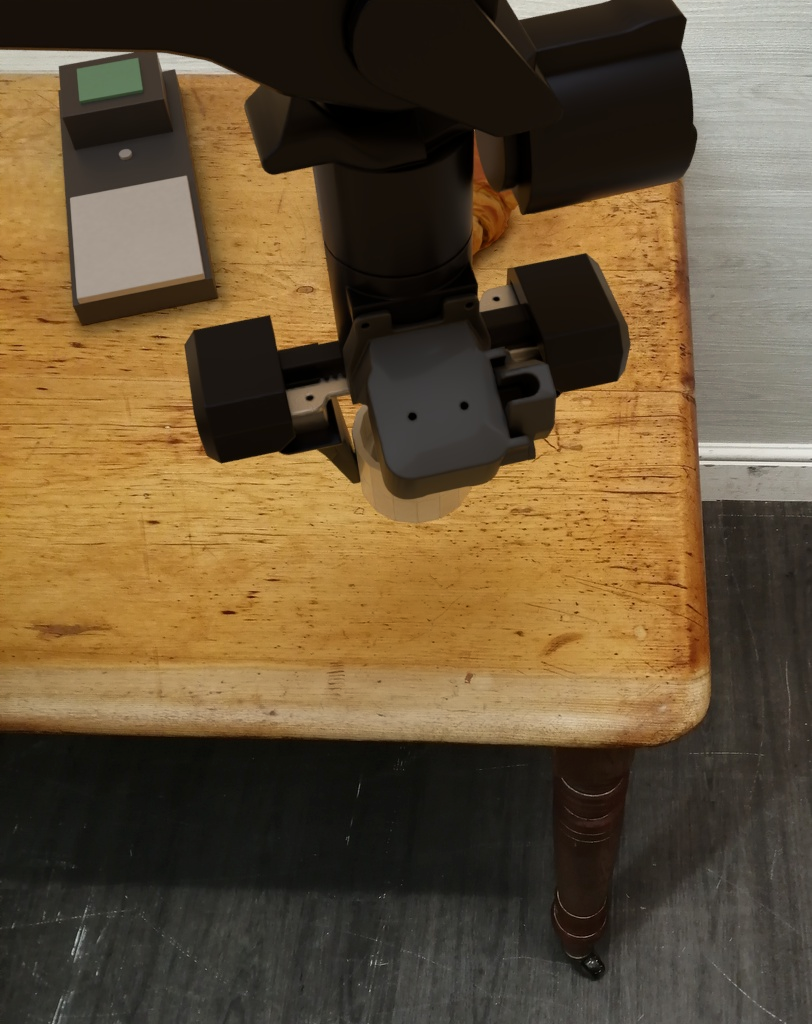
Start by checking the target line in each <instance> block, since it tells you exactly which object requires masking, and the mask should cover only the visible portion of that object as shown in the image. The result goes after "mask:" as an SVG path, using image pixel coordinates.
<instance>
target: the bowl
mask: <svg viewBox="0 0 812 1024" xmlns="http://www.w3.org/2000/svg"><path fill="white" fill-rule="evenodd" d="M352 423H353V424H352V428H351V440H352V443H353V447H354V452H355V456H356V460H357V464H358V469H359V476H360V483H359V486H360V490H361V494H362V496H363V498H364V499H365V500H366V502H368V503H369V505H370V506H371V507H372V509H373V510H374V511H376V513H378V514H380V515H382V516H384V517H386V518H388V519H390V520H391V521H393V522H397V523H406V524H414V525H418V524H425V523H429V522H433V521H439V520H442V519H444V518H445V517H446V516H448V515H450V514H452V513H453V512H454V511H456V510H457V509H459V508H460V507H461V506H462V505H463V503H464V501H466V499H467V497H468V496H469V495H470V493H471V491H472V487H471V486H468V487H462V488H458V489H453V490H448V491H444V492H439V493H434V494H430V495H426V496H424V497H421V498H416V499H410V500H404V499H400V498H397V497H395V496H394V495H392V494H391V493H390V492H389V491H388V490H387V488H386V486H385V484H384V482H383V478H382V473H381V468H380V463H379V459H378V455H377V450H376V446H375V442H374V437H373V433H372V429H371V424H370V420H369V415H368V407H367V406H366V405H362V404H361V406H360V407H359V409H358V410H357V411H356V413H355V416H354V420H353V422H352Z"/></svg>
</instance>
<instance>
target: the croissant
mask: <svg viewBox="0 0 812 1024" xmlns="http://www.w3.org/2000/svg"><path fill="white" fill-rule="evenodd" d="M517 207H519V206H518V203H517V201H516V199H515V197H514V195H513V193H512V191H511V190H509V191H504V192H500V193H497V192H495V191H494V190H493V189H492V188H491V187H490V185H489V183H488V181H487V179H486V177H485V174H484V172H483V168H482V165H481V162H480V158H479V154H478V149H477V144H476V138H475V130H474V177H473V256H475V254H476V253H478V252H480V251H481V250H484V249H486V248H489V247H490V246H491V245H492V244H493V243H494V242H496V241H497V240H498V239H499V238H500V237H501V235H502V234H503V233H505V229H506V228H508V227H509V225H508V221H509V219H510V215H511V213H512V211H515V209H517Z"/></svg>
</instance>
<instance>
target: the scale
mask: <svg viewBox="0 0 812 1024" xmlns="http://www.w3.org/2000/svg"><path fill="white" fill-rule="evenodd" d="M58 77H59V78H58V79H59V90H58V91H57V93H58V106H59V107H58V109H59V121H60V136H61V151H62V166H63V167H62V168H63V181H64V195H65V196H64V197H65V211H66V224H67V225H66V226H67V240H68V255H69V270H70V284H71V285H70V286H71V300H72V308H73V309H74V312H75V314H76V316H77V318H78V320H79V322H80V324H81V326H85V325H90V324H95V323H99V322H105V321H110V320H116V319H119V318H125V317H129V316H135V315H140V314H145V313H150V312H154V311H160V310H164V309H169V308H174V307H175V308H176V307H179V306H185V305H190V304H194V303H199V302H203V301H204V302H205V301H209V300H214V299H218V298H219V295H218V289H217V284H216V279H215V274H214V267H213V261H212V257H211V251H210V244H209V240H208V234H207V229H206V223H205V218H204V212H203V207H202V202H201V196H200V190H199V184H198V178H197V173H196V167H195V162H194V156H193V152H192V145H191V140H190V134H189V128H188V123H187V118H186V111H185V107H184V102H183V96H182V95H183V94H182V90H181V86H180V82H179V78H178V75H177V71H176V69H175V68H174V69H169V70H163V69H162V65H161V62H160V58H159V53H141V52H127V53H123V54H117V55H113V56H107V57H106V56H105V57H100V58H96V59H90V60H85V61H79V62H73V63H67V64H63V65H58Z"/></svg>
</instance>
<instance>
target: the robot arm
mask: <svg viewBox="0 0 812 1024" xmlns="http://www.w3.org/2000/svg"><path fill="white" fill-rule="evenodd" d="M687 22H688V18H687V17H686V16H685V14H684V13H683V12H682V10H681V9H680V7H678V5H677V4H676V3H675V1H674V0H606V1H603V2H599V3H595V4H589V5H585V6H579V7H575V8H571V9H566V10H560V11H556V12H551V13H546V14H541V15H536V16H532V17H531V16H530V17H527V18H521V19H519V18H518V16H517V15H516V13H515V11H514V10H513V8H512V6H511V4H510V3H509V2H508V0H0V51H34V52H35V51H37V52H38V51H41V52H42V51H43V52H44V51H45V52H89V53H90V52H93V53H94V52H96V53H97V52H98V53H134V52H141V53H157V54H169V55H174V56H179V57H185V58H190V59H196V60H201V61H206V62H209V63H212V64H214V65H217V66H218V67H221V68H222V69H225V70H227V71H229V72H231V73H234V74H235V75H238V76H240V77H242V78H244V79H246V80H249V81H251V82H253V83H256V84H257V85H259V86H258V87H257V88H256V89H255V90H254V91H253V92H252V93H251V94H250V95H249V96H247V98H246V99H245V101H244V104H243V108H244V112H245V116H246V120H247V122H248V127H249V129H250V132H251V135H252V138H253V142H254V145H255V148H256V152H257V155H258V158H259V162H260V165H261V168H262V170H263V171H264V172H265V173H267V174H268V175H271V176H275V175H276V176H277V175H281V174H287V173H291V172H295V171H296V172H297V171H299V170H300V171H301V170H304V169H309V168H312V174H313V181H314V188H315V194H316V200H317V207H318V214H319V220H320V221H319V222H320V228H321V234H322V235H321V236H322V242H323V248H324V254H325V261H326V266H327V268H326V269H327V276H328V281H329V289H330V296H331V301H332V308H333V314H334V320H335V328H336V334H337V336H336V337H337V340H333V341H329V342H323V343H319V342H314V343H307V344H304V345H298V346H293V347H289V348H288V347H287V348H283V349H278V345H277V339H276V335H275V334H276V333H275V330H274V325H273V321H272V317H271V314H268V315H262V316H258V317H252V318H247V319H243V320H238V321H232V322H228V323H222V324H216V325H211V326H207V327H202V328H197V329H193V330H192V331H191V333H190V335H189V336H188V338H187V339H186V341H185V344H184V346H183V347H184V352H185V362H186V367H187V374H188V382H189V389H190V390H189V391H190V397H191V403H192V404H191V405H192V412H193V416H194V421H195V426H196V429H197V434H198V436H199V438H200V442H201V444H202V447H203V450H204V453H205V455H206V457H207V458H210V459H212V460H213V461H215V462H217V463H219V464H220V465H221V464H226V463H231V462H236V461H240V460H246V459H250V458H255V457H260V456H264V455H269V454H275V453H279V454H281V455H282V456H283V455H284V456H292V455H298V454H302V453H307V452H311V451H318V452H319V453H321V454H322V455H323V456H325V457H326V459H328V460H329V461H330V462H331V464H333V465H334V466H335V468H337V470H339V471H340V473H341V474H342V475H344V476H345V478H346V479H347V480H348V481H349V482H350V483H351V484H352V485H355V484H360V476H359V469H358V464H357V460H356V456H355V452H354V445H353V439H352V436H351V434H350V431H349V428H348V425H347V423H346V419H345V417H344V413H343V411H342V408H341V405H340V402H339V399H338V398H341V397H346V396H349V397H350V400H351V404H352V405H353V406H355V405H361V406H362V405H366V406H367V407H368V415H369V420H370V424H371V429H372V433H373V437H374V442H375V446H376V450H377V455H378V459H379V463H380V468H381V473H382V478H383V482H384V484H385V486H386V488H387V490H388V491H389V492H390V493H391V494H392V495H394V496H395V497H397V498H400V499H404V500H410V499H416V498H421V497H424V496H426V495H430V494H434V493H439V492H444V491H448V490H453V489H458V488H462V487H468V486H471V488H472V487H477V486H481V485H484V484H487V483H489V482H490V481H492V480H493V479H494V478H495V477H496V476H497V475H498V472H499V470H500V468H501V467H503V466H508V465H513V464H517V463H522V462H527V461H532V460H536V458H537V451H536V443H535V441H539V440H543V439H548V438H549V436H550V434H551V432H552V431H553V429H554V428H555V421H556V407H557V399H558V398H559V397H561V395H562V394H564V393H569V392H573V391H579V390H582V389H587V388H593V387H598V386H603V385H607V384H612V383H616V382H619V380H620V378H621V377H622V376H623V374H624V372H625V371H626V368H627V363H628V359H629V354H630V349H631V337H630V331H629V325H628V323H627V321H626V318H625V316H624V314H623V313H622V310H621V309H620V306H619V304H618V302H617V300H616V298H615V295H614V293H613V292H612V289H611V287H610V285H609V283H608V281H607V278H606V276H605V274H604V272H603V270H602V268H601V266H600V264H599V262H598V261H596V260H595V259H594V258H592V256H591V255H589V254H588V253H587V252H584V253H579V254H574V255H568V256H564V257H563V256H562V257H559V258H553V259H548V260H544V261H539V262H534V263H533V262H532V263H528V264H523V265H518V266H513V267H507V268H506V285H501V286H495V287H491V288H488V289H487V290H485V291H484V292H483V293H482V294H481V297H480V299H479V283H478V280H477V278H476V275H475V272H474V270H473V256H474V255H473V177H474V131H475V138H476V144H477V149H478V154H479V158H480V162H481V165H482V168H483V172H484V174H485V177H486V179H487V181H488V183H489V185H490V187H491V188H492V189H493V190H494V191H495V192H497V193H500V192H504V191H509V190H511V191H512V193H513V195H514V197H515V199H516V201H517V203H518V206H517V207H518V210H519V213H520V215H521V216H527V215H536V214H540V213H545V212H549V211H552V210H553V211H554V210H558V209H562V208H567V207H570V206H571V207H572V206H576V205H578V204H584V203H589V202H592V201H598V200H601V199H602V200H603V199H606V198H610V197H615V196H620V195H623V194H628V193H632V192H638V191H642V190H646V189H650V188H655V187H659V186H664V185H668V184H672V183H676V182H677V181H679V180H681V179H682V178H683V177H684V176H685V175H686V173H687V172H688V169H689V168H690V167H691V163H692V161H693V157H694V155H695V152H696V147H697V143H698V129H697V127H696V126H695V124H694V115H695V114H694V98H693V89H692V83H691V76H690V71H689V67H688V63H687V60H686V56H685V53H684V51H683V50H684V49H683V48H682V47H683V43H684V38H685V32H686V27H687Z"/></svg>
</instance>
